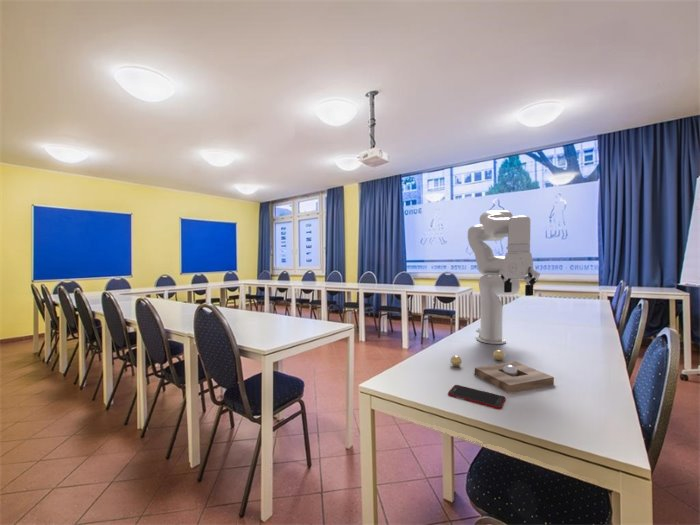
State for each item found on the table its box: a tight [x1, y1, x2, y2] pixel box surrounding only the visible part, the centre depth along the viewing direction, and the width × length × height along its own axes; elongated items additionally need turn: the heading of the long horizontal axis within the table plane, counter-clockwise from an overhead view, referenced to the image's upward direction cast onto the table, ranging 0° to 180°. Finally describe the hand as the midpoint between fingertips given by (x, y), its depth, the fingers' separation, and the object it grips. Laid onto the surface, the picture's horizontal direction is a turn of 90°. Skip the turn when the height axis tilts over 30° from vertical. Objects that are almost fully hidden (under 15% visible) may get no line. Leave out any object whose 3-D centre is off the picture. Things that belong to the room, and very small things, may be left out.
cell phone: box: [447, 384, 507, 410], centre depth 90 cm, size 8×15×1 cm, turn 54°
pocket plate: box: [474, 361, 555, 394], centre depth 102 cm, size 15×18×2 cm
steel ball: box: [503, 365, 518, 377], centre depth 103 cm, size 4×4×4 cm
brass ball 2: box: [493, 349, 506, 361], centre depth 121 cm, size 4×4×4 cm
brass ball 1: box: [450, 355, 463, 368], centre depth 114 cm, size 4×4×4 cm
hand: (518, 293), depth 118 cm, fingers open, 9 cm apart
